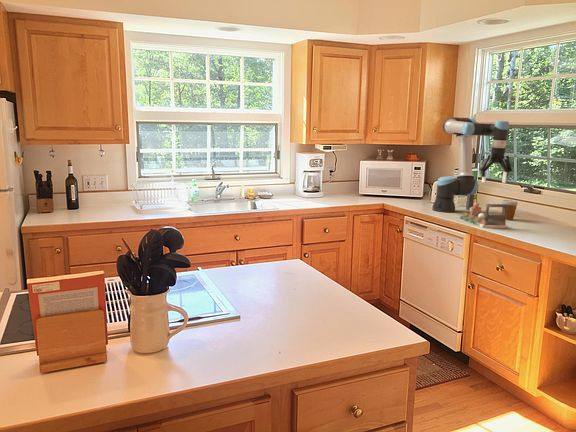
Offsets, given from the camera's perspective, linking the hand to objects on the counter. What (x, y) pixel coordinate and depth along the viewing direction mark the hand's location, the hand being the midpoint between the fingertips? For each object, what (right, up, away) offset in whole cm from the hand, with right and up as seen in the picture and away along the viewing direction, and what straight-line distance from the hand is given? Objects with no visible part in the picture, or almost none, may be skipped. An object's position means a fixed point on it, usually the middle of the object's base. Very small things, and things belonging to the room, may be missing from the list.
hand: (493, 182), depth 289 cm
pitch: (-5, -24, +3) cm, 25 cm away
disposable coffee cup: (+17, -23, +18) cm, 33 cm away
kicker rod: (-7, -20, +15) cm, 26 cm away
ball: (-6, -21, +5) cm, 22 cm away
